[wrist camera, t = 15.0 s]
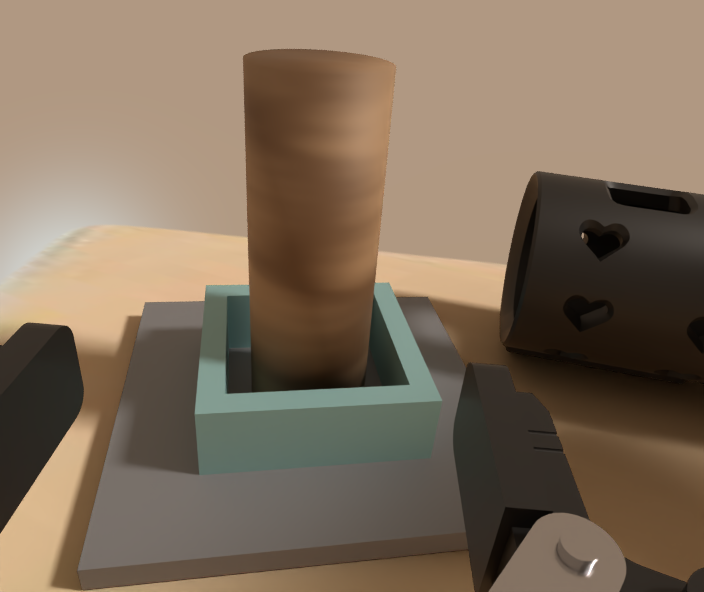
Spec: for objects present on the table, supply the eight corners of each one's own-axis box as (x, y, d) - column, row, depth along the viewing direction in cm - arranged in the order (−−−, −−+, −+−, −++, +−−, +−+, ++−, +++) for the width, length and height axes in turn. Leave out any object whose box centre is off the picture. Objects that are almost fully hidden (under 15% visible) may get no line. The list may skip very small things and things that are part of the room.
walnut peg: (353, 356, 29) (379, 52, 22) (373, 426, 24) (412, 78, 17) (251, 360, 28) (242, 46, 21) (253, 434, 24) (243, 71, 17)
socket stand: (425, 311, 35) (435, 251, 33) (543, 541, 21) (572, 464, 19) (147, 317, 32) (139, 252, 30) (82, 589, 19) (60, 505, 17)
